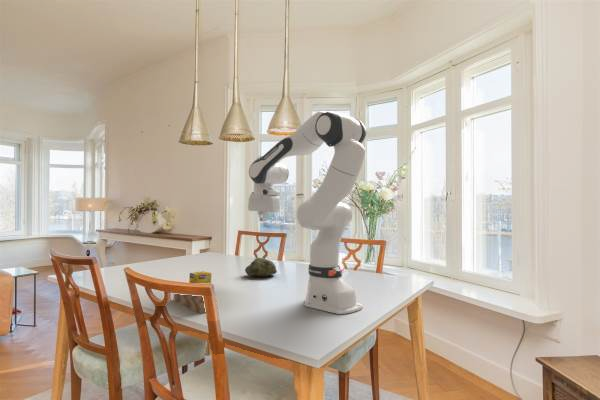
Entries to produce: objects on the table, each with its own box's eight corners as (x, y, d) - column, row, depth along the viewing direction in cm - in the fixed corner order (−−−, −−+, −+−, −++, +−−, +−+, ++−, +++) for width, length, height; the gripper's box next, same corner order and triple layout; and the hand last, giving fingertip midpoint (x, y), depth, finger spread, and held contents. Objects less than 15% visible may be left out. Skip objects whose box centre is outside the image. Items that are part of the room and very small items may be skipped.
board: (208, 312, 118) (208, 294, 118) (200, 313, 116) (200, 296, 116) (181, 298, 134) (181, 282, 134) (173, 299, 132) (174, 283, 132)
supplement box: (197, 305, 126) (198, 275, 126) (188, 302, 130) (189, 272, 130) (211, 302, 130) (211, 272, 130) (202, 298, 134) (202, 270, 134)
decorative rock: (251, 275, 185) (251, 256, 187) (280, 275, 182) (279, 256, 183) (241, 278, 171) (241, 258, 172) (272, 278, 168) (271, 257, 169)
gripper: (245, 191, 166) (244, 220, 166) (271, 191, 151) (270, 222, 151) (256, 192, 170) (255, 220, 170) (282, 191, 155) (281, 222, 155)
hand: (262, 221), depth 160 cm, fingers closed
